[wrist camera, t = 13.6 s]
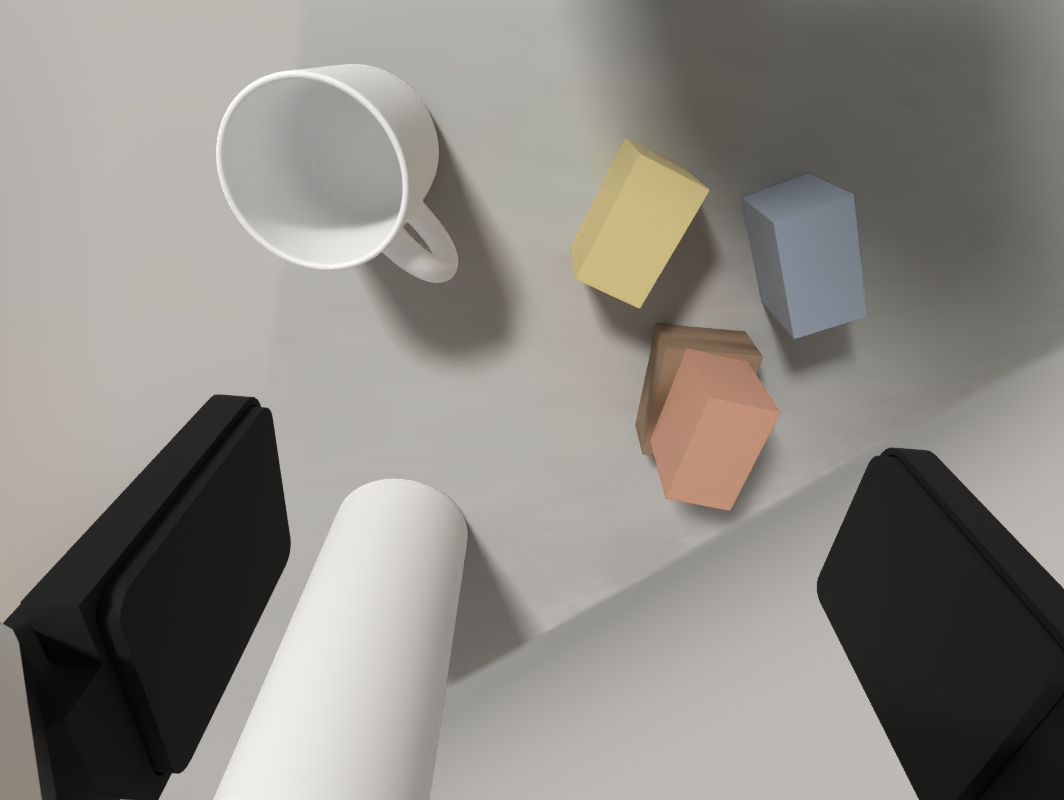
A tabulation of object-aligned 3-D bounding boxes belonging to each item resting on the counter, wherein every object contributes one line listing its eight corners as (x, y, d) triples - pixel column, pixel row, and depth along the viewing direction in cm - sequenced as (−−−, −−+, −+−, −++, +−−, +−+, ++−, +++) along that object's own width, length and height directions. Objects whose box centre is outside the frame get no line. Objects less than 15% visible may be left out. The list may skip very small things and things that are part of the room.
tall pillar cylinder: (321, 482, 48) (141, 844, 26) (457, 474, 47) (388, 837, 26) (353, 581, 53) (225, 949, 32) (476, 574, 53) (431, 945, 31)
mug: (512, 205, 37) (504, 256, 28) (415, 288, 40) (380, 359, 31) (365, 26, 33) (300, 20, 24) (267, 134, 35) (175, 165, 26)
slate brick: (740, 197, 37) (773, 222, 32) (808, 172, 36) (853, 194, 31) (761, 301, 40) (794, 339, 35) (824, 280, 39) (867, 316, 34)
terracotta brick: (686, 348, 38) (709, 397, 33) (747, 361, 38) (780, 412, 33) (650, 440, 41) (665, 498, 36) (706, 452, 42) (730, 510, 36)
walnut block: (655, 322, 41) (666, 347, 38) (744, 330, 41) (762, 356, 38) (634, 422, 45) (642, 454, 42) (715, 429, 45) (729, 461, 42)
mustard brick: (625, 137, 35) (640, 154, 30) (685, 168, 36) (709, 190, 31) (570, 247, 39) (575, 279, 33) (626, 273, 39) (639, 308, 34)
